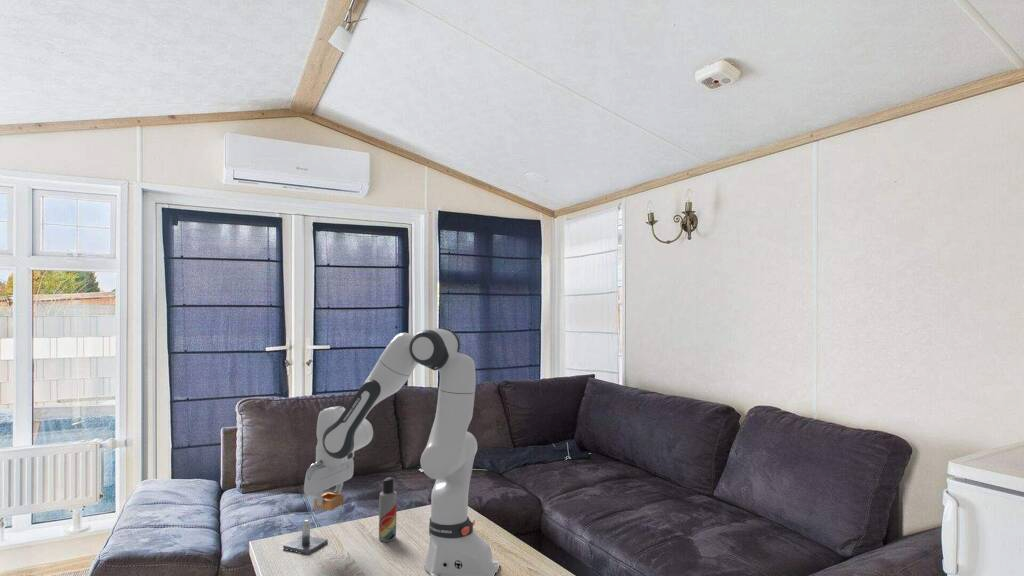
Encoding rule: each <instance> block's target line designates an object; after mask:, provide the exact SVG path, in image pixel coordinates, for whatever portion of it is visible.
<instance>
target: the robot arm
mask: <svg viewBox="0 0 1024 576" xmlns="http://www.w3.org/2000/svg"><path fill="white" fill-rule="evenodd" d="M460 350H461V341H460V338H459V336H458V334H456V333H455V332H454V331H453V330H451V329H447V328H434V327H433V328H428V329H423V330H420V331H419V332H417V333H416V334H415V335H413V334H412V333H409V332H400V333H397V334H396V335H395V337H393V339H391V341H390V342H389V343H388V345H387V346H386V347H385V349H384V350H383V352H381V355H380V356H379V358H378V360H377V361H376V364H375V365H374V366H373V368H372V370H371V372H370V373H369V375H368V376H367V378H366V379H365V380H364V382H363V383H362V385H361V387H360V388H359V389H358V390H357V392H356V393H355V395H354V396H353V398H352V399H351V400H350V402H349V404H348V405H347V406H346V408H345V407H344V406H341V405H335V406H331V407H327V408H323V409H322V410H320V412H319V414H318V417H317V422H316V439H317V444H316V447H315V463H312V464H311V463H310V465H309V467H308V468H307V469H306V473H305V478H304V484H303V492H304V495H307V496H313V497H314V498H316V499H317V505H319V506H321V505H323V504H324V503H325V502H324V501H325V499H323V498H322V494H324V491H326V490H329V489H332V488H334V487H335V489H334V491H333V492H332V493H336V494H341V491H342V489H343V486H344V482H346V481H348V480H350V479H352V478H353V476H354V467H355V464H354V462H355V461H354V458H355V452H356V451H358V450H360V449H362V448H364V447H366V446H367V445H369V444H370V443H371V442H372V440H373V438H374V428H373V425H372V423H371V422H370V421H369V420H368V419H367V418H366V417H367V416H368V414H369V413H370V412H371V410H372V409H373V408H374V407H375V406H376V405H378V404H379V403H380V402H382V401H384V400H385V399H386V398H388V397H390V396H392V395H394V394H396V393H397V392H398V391H400V390H401V388H402V387H403V386H404V385H405V384H406V382H407V381H408V380H409V378H410V376H411V375H412V372H413V371H414V369H415V368H416V366H417V365H418V364H420V365H422V366H424V367H426V368H428V369H430V370H433V371H438V373H439V386H438V395H437V403H436V412H435V415H434V417H435V418H434V421H433V424H432V427H431V431H430V433H429V437H428V440H427V444H426V446H425V448H424V450H423V451H422V453H421V456H420V467H421V469H422V472H423V473H424V475H426V476H427V477H428V478H430V479H432V480H435V482H434V486H433V488H432V490H431V494H430V495H431V500H430V501H431V503H430V507H431V508H430V517H429V523H428V524H429V525H428V527H429V528H428V529H429V530H428V533H429V542H428V551H427V555H426V560H425V563H424V569H425V571H426V572H427V573H428V574H429V576H493V575H495V573H496V572H497V571H498V569H499V570H500V568H499V565H500V561H499V560H498V559H495V558H493V554H492V553H493V552H492V548H491V545H490V544H489V543H488V542H486V541H485V540H484V538H482V537H481V536H480V535H479V534H478V533H477V532H475V530H474V525H476V520H475V519H474V520H473V521H472V520H471V519H470V517H469V516H468V513H469V512H468V506H469V490H470V483H471V478H472V472H473V467H474V462H475V461H474V460H475V456H476V454H477V451H478V441H477V439H476V437H475V436H474V434H472V432H470V431H468V428H469V426H470V424H471V421H472V420H473V419H472V418H473V414H474V407H475V406H474V404H475V396H476V395H475V394H476V383H477V382H476V381H477V379H476V378H477V377H476V376H477V375H476V364H475V361H474V359H473V358H472V357H471V356H470V355H467V354H465V353H460ZM495 565H497V566H495ZM498 572H499V571H498ZM498 572H497V573H498ZM495 576H496V575H495Z"/></svg>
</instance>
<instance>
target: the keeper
mask: <svg viewBox="0 0 1024 576" xmlns="http://www.w3.org/2000/svg"><path fill="white" fill-rule="evenodd" d="M301 526H302V527H301V528H302V529H301V535H299V537H296V538H295V539H293V540H291V541H289V542H287V543H285V544H284V545H283V546H282V548H284V549H288V550H292V551H291V552H293V551H297V552H296V553H298V552H300V553H299V554H303V553H304V555H307V554H308V555H311V554H312V553H314V552H316V551H317V550H319V549H320V548H322V547H325V546H326V545H327V544H328V539H326V538H321V537H318V536H317V537H316V536H311V521H310V520H309V519H305V520H303V522H302V524H301ZM288 550H287V551H288ZM310 553H311V554H310Z"/></svg>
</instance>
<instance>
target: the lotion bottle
mask: <svg viewBox="0 0 1024 576" xmlns="http://www.w3.org/2000/svg"><path fill="white" fill-rule="evenodd" d="M397 492H398V491H395V478H394V477H386V478H384V479H382V491H380V493H379V499H378V500H379V505H378V507H379V508H378V510H379V511H378V512H379V513H378V540H379V541H380V542H391V541H394V540H396V537H397V512H398V511H397V506H398V505H397V504H398V503H397V501H398V500H397V499H398V494H397Z"/></svg>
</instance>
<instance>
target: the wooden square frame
mask: <svg viewBox="0 0 1024 576" xmlns="http://www.w3.org/2000/svg"><path fill="white" fill-rule="evenodd" d="M322 498H323V499H325V501H324V502H325V503H324V504H323V505H321V506H319V505H317V499H316V497H314V498H313V499H314V501H313V508H314V509H317V510H323V511H324V510H325V511H330V512H331V511H333V510H335V509H337V508H338V507H340V506H343V505H344V502H345V500H344V499H345V495H344V494H341V493H340V494H336V493H333V492H329V491H327V492H324V493H323V494H322Z"/></svg>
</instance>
